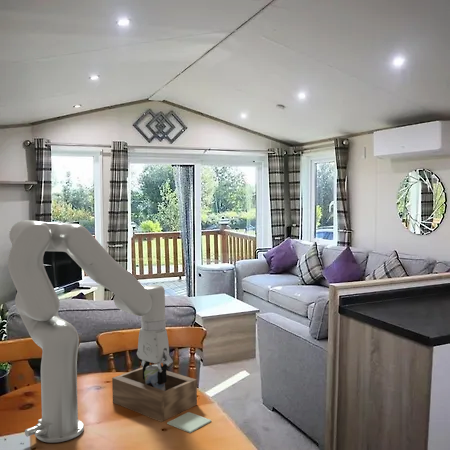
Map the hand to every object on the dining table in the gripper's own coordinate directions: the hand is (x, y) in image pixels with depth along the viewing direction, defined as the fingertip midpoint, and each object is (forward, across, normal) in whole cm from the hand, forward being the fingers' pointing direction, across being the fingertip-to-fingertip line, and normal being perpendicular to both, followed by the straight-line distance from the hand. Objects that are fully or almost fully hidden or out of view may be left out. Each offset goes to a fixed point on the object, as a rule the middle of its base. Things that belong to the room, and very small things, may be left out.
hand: (154, 380), depth 152 cm
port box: (+7, 0, 0) cm, 7 cm away
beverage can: (+7, 0, 0) cm, 7 cm away
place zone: (+7, +18, -3) cm, 20 cm away
